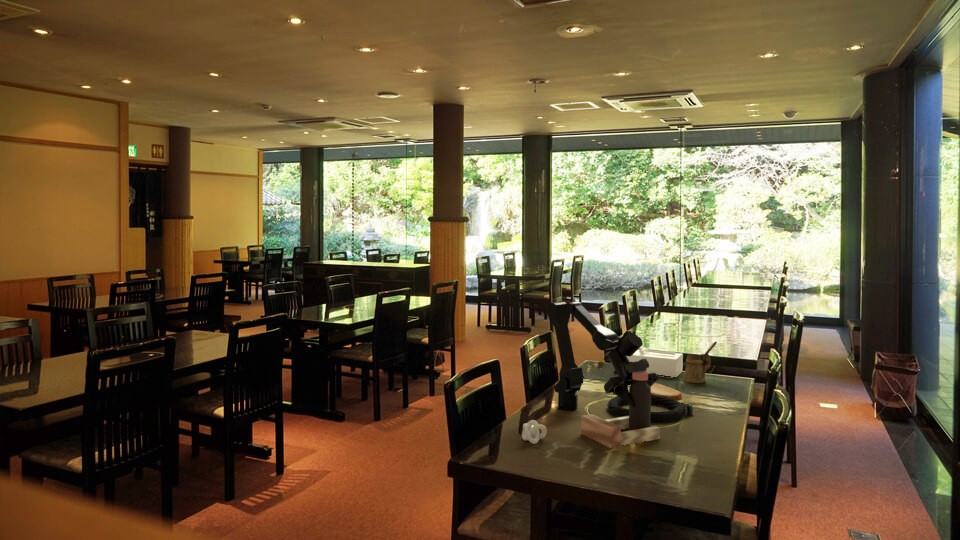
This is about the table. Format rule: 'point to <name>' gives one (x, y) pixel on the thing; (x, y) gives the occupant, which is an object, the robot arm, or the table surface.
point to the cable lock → (675, 414)
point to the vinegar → (640, 401)
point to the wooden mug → (697, 366)
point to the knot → (529, 431)
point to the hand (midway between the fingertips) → (642, 405)
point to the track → (615, 431)
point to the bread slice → (665, 391)
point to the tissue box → (660, 361)
